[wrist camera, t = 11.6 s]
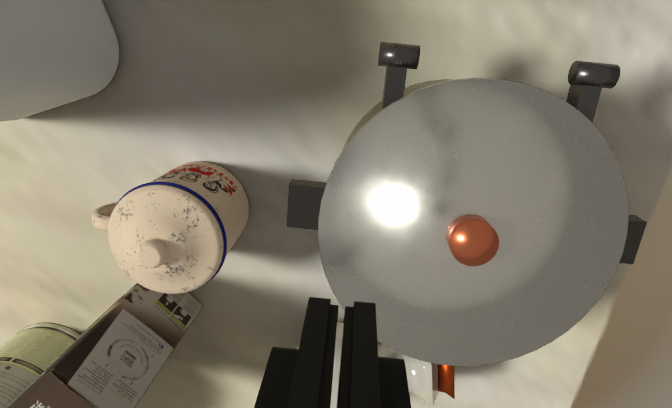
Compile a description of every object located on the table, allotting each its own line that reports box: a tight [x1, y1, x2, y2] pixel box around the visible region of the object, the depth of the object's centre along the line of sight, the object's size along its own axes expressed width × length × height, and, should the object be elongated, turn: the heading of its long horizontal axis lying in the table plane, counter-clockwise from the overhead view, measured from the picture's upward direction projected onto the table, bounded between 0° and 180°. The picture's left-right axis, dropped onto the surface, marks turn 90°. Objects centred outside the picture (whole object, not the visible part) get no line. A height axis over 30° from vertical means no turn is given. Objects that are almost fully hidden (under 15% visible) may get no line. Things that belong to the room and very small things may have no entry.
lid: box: [318, 78, 629, 366], centre depth 29 cm, size 20×20×3 cm
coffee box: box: [8, 283, 202, 408], centre depth 39 cm, size 9×6×16 cm
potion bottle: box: [296, 322, 454, 408], centre depth 42 cm, size 9×10×15 cm
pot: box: [287, 42, 647, 264], centre depth 35 cm, size 21×25×10 cm
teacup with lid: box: [92, 162, 249, 294], centre depth 37 cm, size 12×9×12 cm
